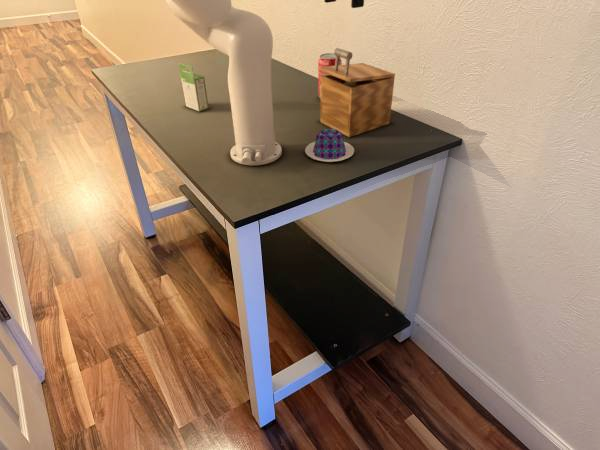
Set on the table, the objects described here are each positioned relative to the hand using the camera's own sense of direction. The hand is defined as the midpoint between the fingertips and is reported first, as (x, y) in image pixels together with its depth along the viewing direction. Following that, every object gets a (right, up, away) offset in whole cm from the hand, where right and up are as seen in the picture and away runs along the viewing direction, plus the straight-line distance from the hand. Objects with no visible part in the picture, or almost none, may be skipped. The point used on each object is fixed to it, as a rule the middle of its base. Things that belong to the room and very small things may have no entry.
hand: (343, 4), depth 96 cm
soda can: (-1, -11, +37) cm, 38 cm away
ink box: (-42, -15, +33) cm, 55 cm away
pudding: (-3, -33, +6) cm, 34 cm away
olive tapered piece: (+4, -23, +19) cm, 30 cm away
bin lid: (+5, -12, +12) cm, 17 cm away
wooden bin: (+5, -22, +21) cm, 31 cm away
